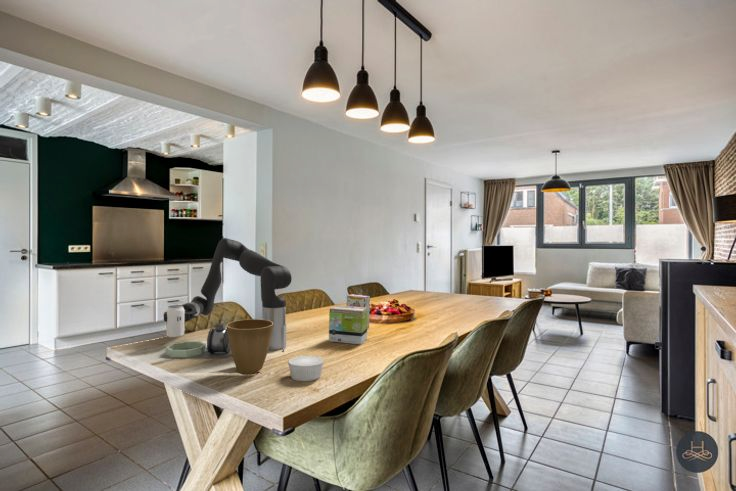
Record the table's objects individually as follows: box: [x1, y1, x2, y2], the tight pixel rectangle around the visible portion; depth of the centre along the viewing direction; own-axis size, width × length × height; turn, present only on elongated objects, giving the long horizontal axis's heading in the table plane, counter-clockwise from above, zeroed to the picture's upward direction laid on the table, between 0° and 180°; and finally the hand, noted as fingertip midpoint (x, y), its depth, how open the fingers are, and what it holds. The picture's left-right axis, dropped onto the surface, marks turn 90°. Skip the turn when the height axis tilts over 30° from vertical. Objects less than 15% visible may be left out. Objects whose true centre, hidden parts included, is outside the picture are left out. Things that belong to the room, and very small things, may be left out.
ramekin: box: [287, 355, 324, 382], centre depth 128 cm, size 11×11×5 cm
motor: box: [206, 322, 231, 353], centre depth 150 cm, size 7×9×11 cm
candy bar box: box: [346, 293, 371, 330], centre depth 201 cm, size 11×5×16 cm, turn 58°
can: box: [166, 304, 185, 338], centre depth 161 cm, size 6×6×12 cm
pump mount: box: [158, 340, 232, 359], centre depth 149 cm, size 24×14×4 cm, turn 93°
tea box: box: [328, 304, 368, 346], centre depth 174 cm, size 15×10×15 cm, turn 76°
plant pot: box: [226, 318, 273, 376], centre depth 132 cm, size 15×15×16 cm
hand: (171, 318), depth 158 cm, fingers closed on can, 4 cm apart
